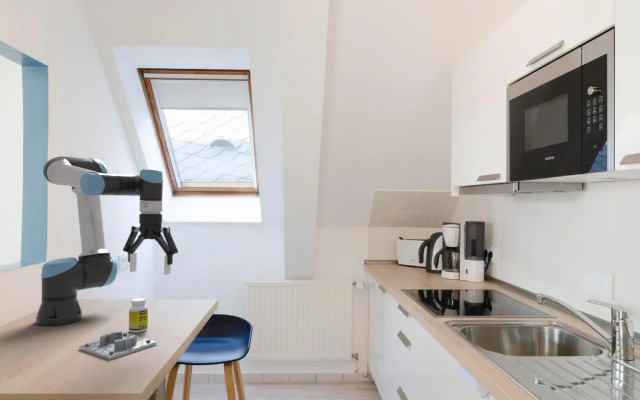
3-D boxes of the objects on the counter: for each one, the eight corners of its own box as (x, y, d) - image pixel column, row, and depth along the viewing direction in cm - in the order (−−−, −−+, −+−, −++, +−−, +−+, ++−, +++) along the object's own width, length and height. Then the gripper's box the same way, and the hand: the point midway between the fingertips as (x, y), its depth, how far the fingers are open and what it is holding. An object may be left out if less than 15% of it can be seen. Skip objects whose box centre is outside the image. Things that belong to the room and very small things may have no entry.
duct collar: (79, 349, 134) (79, 338, 134) (126, 335, 148) (126, 325, 148) (109, 360, 126) (109, 348, 126) (156, 344, 139) (156, 333, 139)
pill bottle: (140, 333, 150) (141, 302, 150) (125, 332, 152) (125, 301, 152) (151, 328, 156) (151, 298, 156) (135, 327, 158) (136, 297, 158)
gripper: (112, 212, 152) (112, 272, 152) (177, 214, 146) (176, 276, 147) (126, 211, 159) (126, 269, 159) (188, 213, 154) (187, 272, 154)
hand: (150, 272), depth 153 cm, fingers open, 13 cm apart
